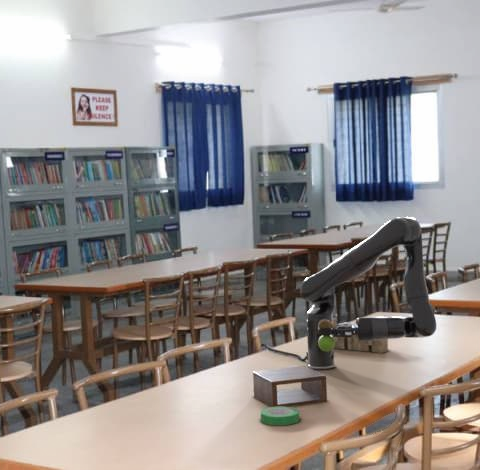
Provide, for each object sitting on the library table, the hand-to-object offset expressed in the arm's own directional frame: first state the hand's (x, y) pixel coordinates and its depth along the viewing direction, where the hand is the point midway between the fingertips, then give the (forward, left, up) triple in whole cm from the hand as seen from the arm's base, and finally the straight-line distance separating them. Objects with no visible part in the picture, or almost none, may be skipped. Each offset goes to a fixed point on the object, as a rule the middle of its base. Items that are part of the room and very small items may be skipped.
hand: (318, 331), depth 303 cm
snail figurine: (+1, +3, -7) cm, 7 cm away
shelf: (+7, -14, -19) cm, 25 cm away
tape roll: (+28, -26, -19) cm, 43 cm away
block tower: (-55, +39, -19) cm, 70 cm away
